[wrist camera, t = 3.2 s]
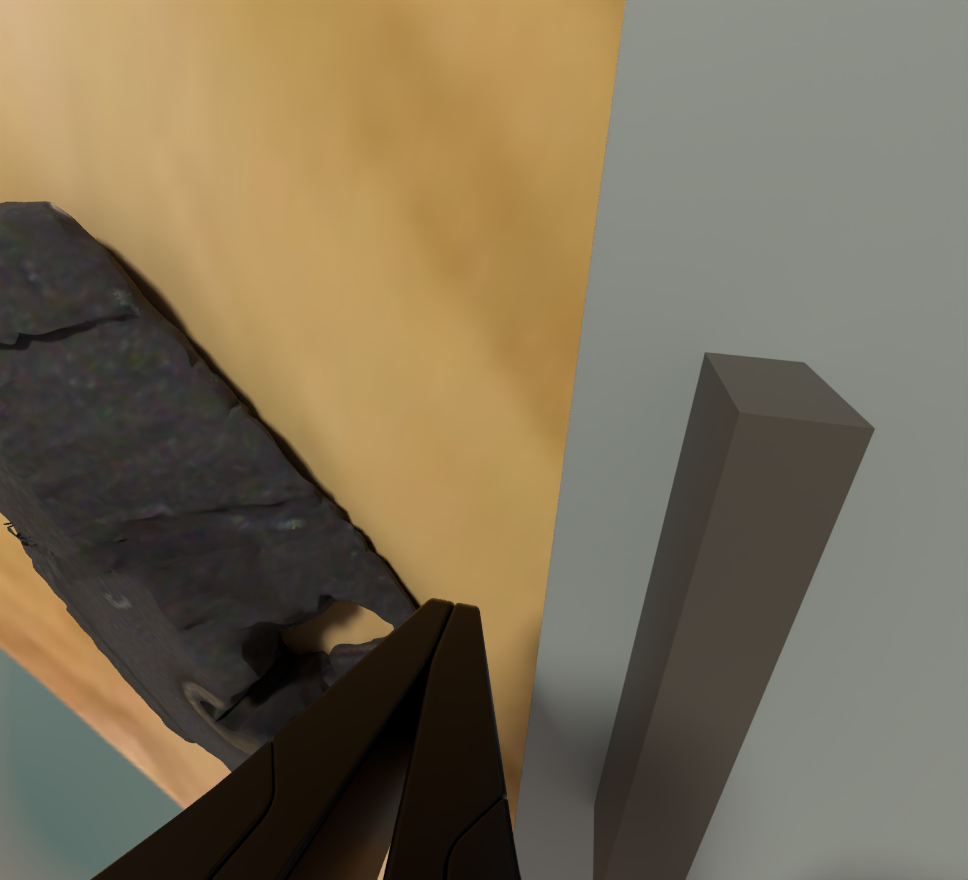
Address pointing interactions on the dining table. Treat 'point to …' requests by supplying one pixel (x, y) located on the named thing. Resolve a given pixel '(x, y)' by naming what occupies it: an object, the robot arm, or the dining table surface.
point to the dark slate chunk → (163, 499)
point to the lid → (766, 461)
